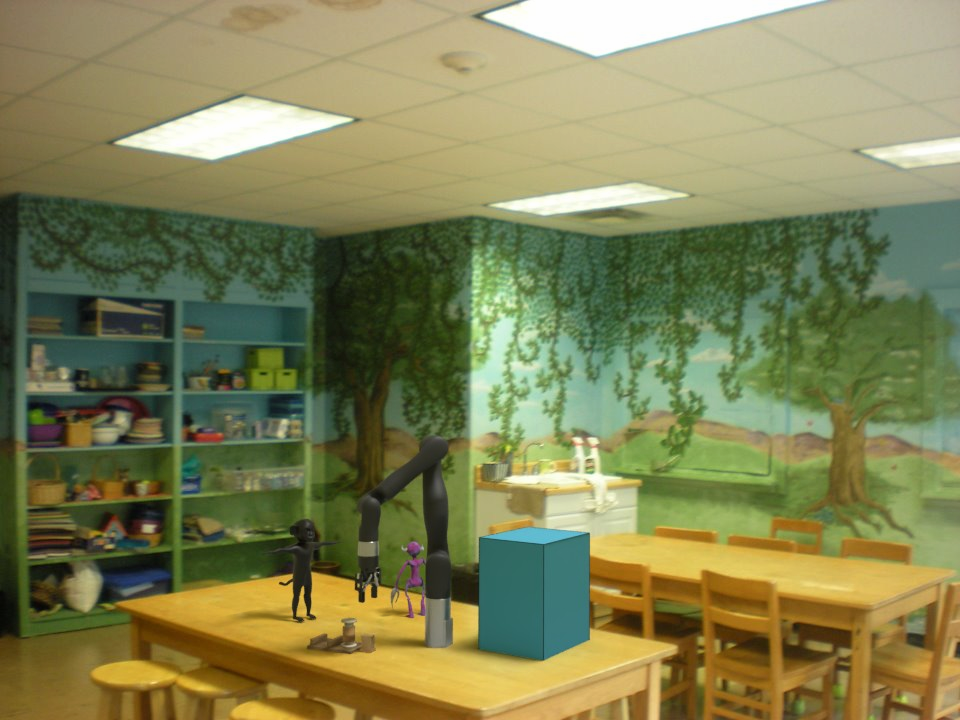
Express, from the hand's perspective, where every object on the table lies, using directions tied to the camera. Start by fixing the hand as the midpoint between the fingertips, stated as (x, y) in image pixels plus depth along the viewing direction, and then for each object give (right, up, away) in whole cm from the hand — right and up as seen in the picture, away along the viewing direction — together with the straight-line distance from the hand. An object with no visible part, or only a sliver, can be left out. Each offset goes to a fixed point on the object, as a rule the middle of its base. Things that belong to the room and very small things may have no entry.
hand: (368, 600), depth 344 cm
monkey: (-35, -20, +51) cm, 65 cm away
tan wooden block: (0, -18, -1) cm, 18 cm away
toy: (+12, -20, +55) cm, 60 cm away
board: (-11, -18, +5) cm, 22 cm away
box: (+59, -19, +8) cm, 63 cm away
